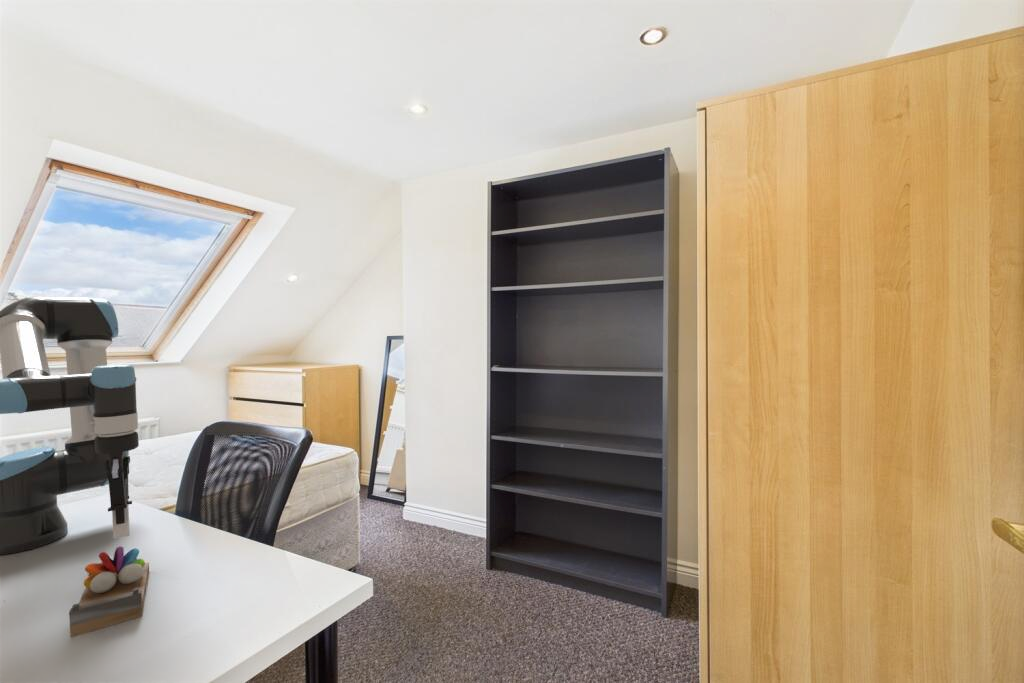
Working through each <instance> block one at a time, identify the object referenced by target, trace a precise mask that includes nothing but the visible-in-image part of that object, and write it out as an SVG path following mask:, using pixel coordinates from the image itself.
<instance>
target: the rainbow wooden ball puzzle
mask: <svg viewBox="0 0 1024 683" xmlns="http://www.w3.org/2000/svg"><path fill="white" fill-rule="evenodd" d="M139 553H140V549H139V548H132V549H131V550H129V551H128V552H126V553H125V549H124V546H117V547H116V548H115V551H114V553H113V558H111V557H110V555H109V554H108V553H107V552H106V551H102V552H100V553H99V555H98V557H99V559H100V560H101V562H99V563H98V562H97V563H96V562H95V563H93V562H92V563H89V564H87V565H86V566H85V567H84V571H85V572H86V573H88V574H87V577H86V578H85V579H84V581H83V586H84V588H85V587H88V588H90V589H91V590H92V591H93V592H95V593H104V592H106V591H108V590H110V589H111V588H112V587H113V586H114V585H115V583H116V580H117V578H116V575H115V574H114V573H116V574H118V580H119V581H120V582H121V583H123V584H131V583H134V582H135V581H137V580H138V579H139V578H140V577H141V575H142V573H143V567H144V565H145V563H146V562H145V560H144V559H142V558H138V556H139Z"/></svg>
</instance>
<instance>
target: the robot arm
mask: <svg viewBox="0 0 1024 683" xmlns="http://www.w3.org/2000/svg"><path fill="white" fill-rule="evenodd" d="M118 322H119V321H118V318H117V314H116V311H115V308H114V306H113V305H112V303H111V302H110V300H107V299H105V298H94V297H65V296H64V297H62V296H61V297H59V296H58V297H55V296H54V297H53V296H52V297H51V296H34V297H31V296H30V297H27V298H23V299H22V298H21V299H20V300H17V301H14V302H12V303H11V304H10V303H9V304H8V305H6V306H5V307H4V308H2V309H0V363H1V364H0V365H1V373H2V374H1V375H2V379H1V378H0V415H8V414H23V413H30V412H39V411H47V410H48V411H49V410H56V409H65V408H66V409H68V408H69V414H70V424H71V425H70V428H71V436H70V438H68V439H67V440H66V441H65V442H64V449H62V450H56V449H55V447H54V446H49V445H48V446H42V447H39V446H38V447H33V448H30V449H25V450H21V451H20V450H19V451H17V452H14V453H10V454H8V455H7V454H6V455H5V456H3V457H0V555H1V554H3V555H10V554H16V553H20V552H24V551H29V550H32V549H37V548H39V547H42V546H45V545H47V544H48V545H49V544H50V543H54V542H56V541H57V540H60V539H61V538H63V537H64V536H66V534H68V530H69V528H68V522H67V520H66V518H65V516H64V515H63V513H62V512H61V509H60V508H59V506H58V496H59V495H60V496H61V495H65V494H69V493H73V492H79V491H84V490H90V489H94V488H98V487H105V486H107V485H108V488H109V489H108V492H109V500H110V502H109V503H110V507H108V509H107V512H111V513H112V516H111V518H112V531H113V532H112V534H113V539H114V540H115V539H120V538H124V537H129V536H130V534H131V531H130V529H131V528H130V510H129V505H132V504H133V500H129V499H130V494H129V474H130V463H131V456H130V455H129V454H130V453H129V452H130V451H134V450H135V449H137V448H138V447H139V446H140V445H139V432H137V431H136V430H137V429H139V421H138V420H139V419H138V418H139V417H138V414H139V413H138V411H137V410H138V408H137V387H136V386H137V377H136V371H135V367H134V366H133V365H131V364H109V365H108V358H107V357H108V356H107V349H108V347H109V346H111V345H112V344H113V339H114V338H117V337H118V336H119V332H120V330H119V323H118ZM53 339H54V340H56V341H57V347H59V348H61V349H62V350H63V351H65V361H66V362H65V363H66V372H67V374H59V375H51V371H50V366H49V362H48V359H47V358H48V357H47V354H46V349H45V345H44V344H45V343H44V340H53Z"/></svg>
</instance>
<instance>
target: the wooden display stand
mask: <svg viewBox="0 0 1024 683" xmlns="http://www.w3.org/2000/svg"><path fill="white" fill-rule="evenodd" d="M114 574H115V575H116V578H117V580H116V583H115V585H114V586H113V587H112V588H111V589H110V590H108V591H106V592H104V593H95V592H93V591H92V590H91V589H90V588H88V587H85V586H84V590H83V593H82V595H81V597H80V599H79V602H77V603H74V604H72V607H71V608H70V609H69V612H68V613H69V614H68V615H69V616H68V617H69V619H68V620H69V634H70V635H69V636H70V638H72V637H76V636H79V635H82V634H86V633H89V632H93V631H96V630H100V629H103V628H106V627H110V626H112V625H113V626H114V625H116V624H120V623H123V622H126V621H131V620H134V619H136V618H137V619H138V618H141V617H143V613H144V612H143V610H144V605H145V600H146V594H147V587H148V580H149V574H150V562H145V565H144V567H143V573H142V575H141V577H140V578H139V579H138V580H137V581H135V582H134V583H131V584H123V583H121V582H120V581H119V580H118V574H116V573H114Z"/></svg>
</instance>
